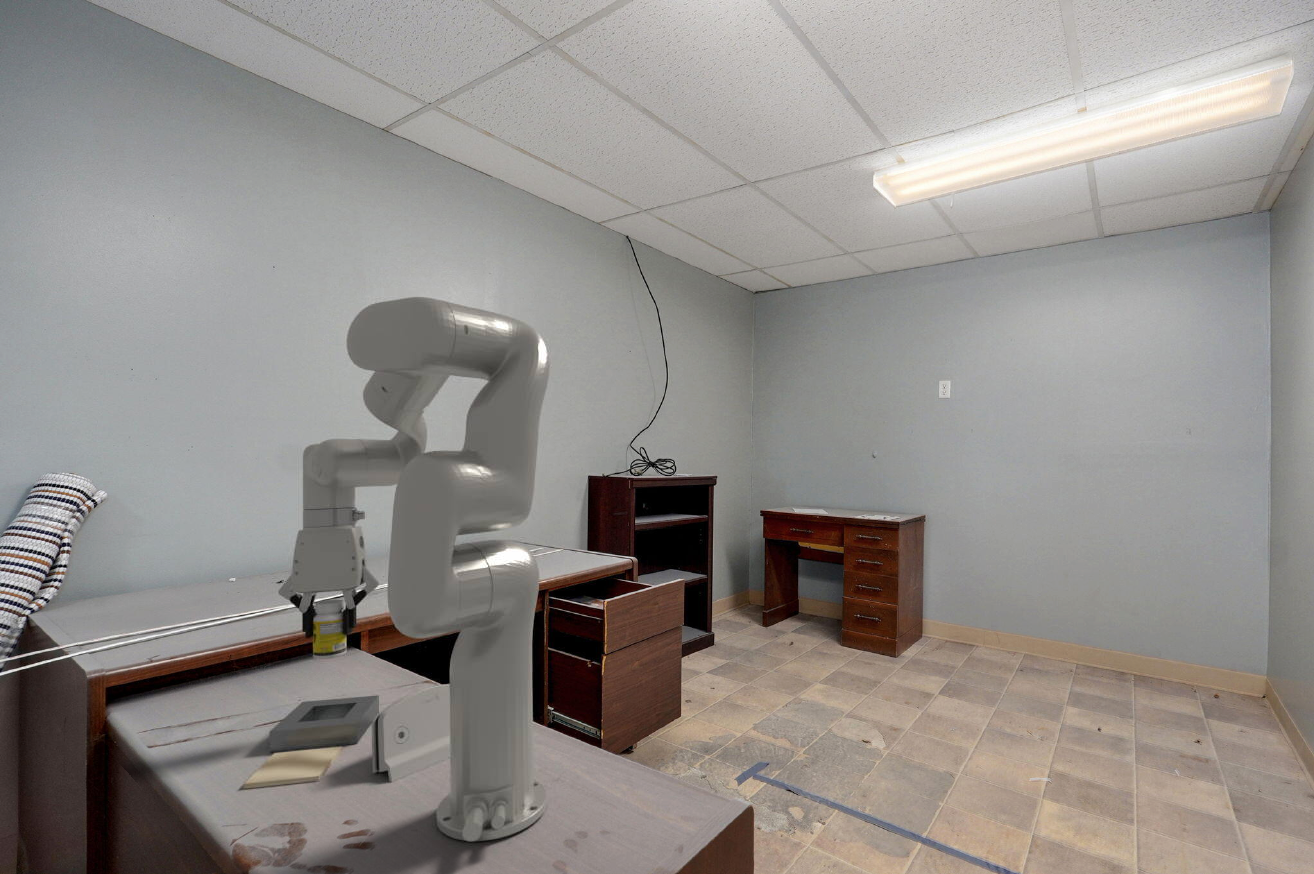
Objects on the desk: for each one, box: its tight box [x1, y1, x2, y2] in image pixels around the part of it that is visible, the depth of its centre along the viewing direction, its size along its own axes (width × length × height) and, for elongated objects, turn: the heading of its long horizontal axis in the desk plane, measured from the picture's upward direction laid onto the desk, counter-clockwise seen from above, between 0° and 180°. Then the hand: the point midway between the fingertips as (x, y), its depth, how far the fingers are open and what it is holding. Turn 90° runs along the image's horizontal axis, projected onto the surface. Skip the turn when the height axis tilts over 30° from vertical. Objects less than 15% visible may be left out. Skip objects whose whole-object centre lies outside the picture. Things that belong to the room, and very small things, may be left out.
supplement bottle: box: [312, 599, 347, 660], centre depth 97 cm, size 5×5×8 cm
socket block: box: [269, 695, 380, 753], centre depth 96 cm, size 12×12×3 cm
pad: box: [243, 745, 343, 790], centre depth 84 cm, size 9×9×1 cm
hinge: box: [371, 683, 450, 783], centre depth 88 cm, size 17×5×10 cm, turn 140°
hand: (329, 633), depth 97 cm, fingers closed on supplement bottle, 4 cm apart
